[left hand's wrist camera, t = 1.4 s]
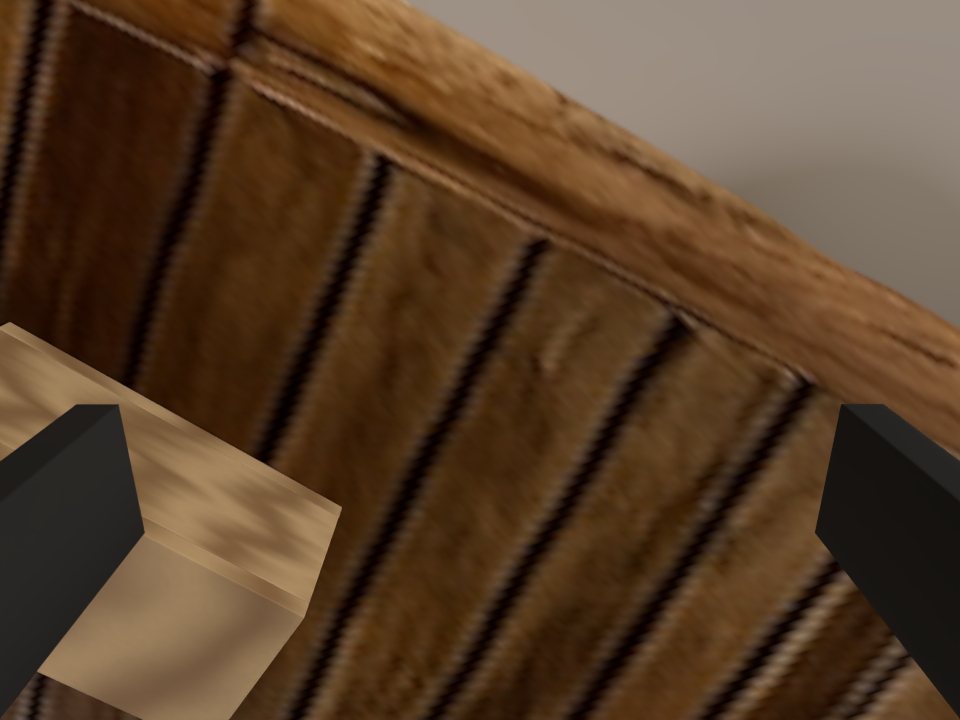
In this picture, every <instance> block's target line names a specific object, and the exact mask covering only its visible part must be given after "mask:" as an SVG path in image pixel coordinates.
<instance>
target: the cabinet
mask: <svg viewBox="0 0 960 720" xmlns="http://www.w3.org/2000/svg"><path fill="white" fill-rule="evenodd" d="M76 404H119V408H120V413H121V418H122V423H123V428H124V432H125V437H126V442H127V447H128V452H129V457H130V462H131V467H132V472H133V476H134V481H135V486H136V491H137V496H138V501H139V506H140V511H141V515H142V520H143V525H144V530H145V533H144V535H143V536H142V537H141V538H140V540H139V541H138V542H137V544H136V545H135V546H134V547H133V549H132V550H131V551H130V553H129V554H128V555H127V556H126V558H125V559H124V560H123V562H122V563H121V564H120V565H119V567H118V568H117V569H116V571H115V572H114V573H113V574H112V576H111V577H110V578H109V580H108V581H107V582H106V583H105V585H104V586H103V587H102V588H101V590H100V591H99V592H98V594H97V595H96V596H95V597H94V599H93V600H92V601H91V603H90V604H89V605H88V606H87V608H86V609H85V610H84V612H83V613H82V614H81V615H80V617H79V618H78V619H77V621H76V622H75V623H74V624H73V626H72V627H71V628H70V630H69V631H68V632H67V633H66V635H65V636H64V637H63V638H62V640H61V641H60V642H59V644H58V645H57V646H56V647H55V649H54V650H53V651H52V653H51V654H50V655H49V656H48V658H47V659H46V660H45V662H44V663H43V664H42V665H41V667H40V668H39V669H38V671H37V672H39V673H41V674H44V675H46V676H48V677H50V678H52V679H55V680H57V681H59V682H61V683H63V684H66V685H68V686H70V687H72V688H74V689H77V690H79V691H81V692H83V693H85V694H87V695H90V696H92V697H94V698H96V699H98V700H101V701H103V702H105V703H107V704H109V705H112V706H114V707H116V708H118V709H120V710H123V711H125V712H127V713H129V714H131V715H134V716H136V717H138V718H140V719H142V720H229V719H230V717H231V716H232V715H233V713H234V712H235V711H236V709H237V708H238V706H239V705H240V704H241V702H242V701H243V700H244V698H245V697H246V696H247V694H248V693H249V692H250V690H251V689H252V688H253V686H254V685H255V683H256V682H257V681H258V679H259V678H260V677H261V675H262V674H263V673H264V671H265V670H266V669H267V667H268V666H269V665H270V663H271V662H272V660H273V659H274V658H275V656H276V655H277V654H278V652H279V651H280V650H281V648H282V647H283V646H284V644H285V643H286V642H287V640H288V639H289V638H290V636H291V635H292V633H293V632H294V631H295V629H296V628H297V627H298V625H299V624H300V623H301V621H302V620H303V619H304V617H305V614H306V611H307V608H308V605H309V602H310V599H311V596H312V593H313V590H314V588H315V585H316V582H317V579H318V576H319V573H320V570H321V567H322V564H323V561H324V558H325V556H326V553H327V550H328V547H329V544H330V541H331V538H332V535H333V532H334V529H335V526H336V523H337V521H338V517H339V515H340V512H341V509H342V507H341V506H339V505H337V504H335V503H333V502H332V501H330V500H328V499H326V498H324V497H323V496H321V495H319V494H317V493H316V492H314V491H312V490H310V489H308V488H307V487H305V486H303V485H301V484H299V483H298V482H296V481H294V480H292V479H290V478H289V477H287V476H285V475H283V474H281V473H280V472H278V471H276V470H274V469H273V468H271V467H269V466H267V465H265V464H264V463H262V462H260V461H258V460H256V459H255V458H253V457H251V456H249V455H247V454H246V453H244V452H242V451H240V450H238V449H237V448H235V447H233V446H231V445H230V444H228V443H226V442H224V441H222V440H221V439H219V438H217V437H215V436H213V435H212V434H210V433H208V432H206V431H204V430H203V429H201V428H199V427H197V426H195V425H194V424H192V423H190V422H188V421H187V420H185V419H183V418H181V417H179V416H178V415H176V414H174V413H172V412H170V411H169V410H167V409H165V408H163V407H161V406H160V405H158V404H156V403H154V402H152V401H151V400H149V399H147V398H145V397H143V396H142V395H140V394H138V393H136V392H135V391H133V390H131V389H129V388H127V387H126V386H124V385H122V384H120V383H118V382H117V381H115V380H113V379H111V378H109V377H108V376H106V375H104V374H102V373H100V372H99V371H97V370H95V369H93V368H92V367H90V366H88V365H86V364H84V363H83V362H81V361H79V360H77V359H75V358H74V357H72V356H70V355H68V354H66V353H65V352H63V351H61V350H59V349H57V348H56V347H54V346H52V345H50V344H49V343H47V342H45V341H43V340H41V339H40V338H38V337H36V336H34V335H32V334H31V333H29V332H27V331H25V330H23V329H22V328H20V327H18V326H16V325H14V324H13V323H11V322H9V323H6V324H4V325H2V326H0V461H1V460H2V459H4V458H5V457H6V456H8V455H9V454H10V453H12V452H13V451H15V450H16V449H17V448H19V447H20V446H21V445H23V444H24V443H25V442H27V441H28V440H29V439H31V438H32V437H33V436H35V435H36V434H37V433H39V432H40V431H41V430H43V429H44V428H45V427H47V426H48V425H49V424H51V423H52V422H53V421H55V420H56V419H57V418H59V417H60V416H61V415H63V414H64V413H65V412H67V411H68V410H69V409H71V408H72V407H73V406H75V405H76Z"/></svg>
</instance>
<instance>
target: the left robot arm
mask: <svg viewBox="0 0 960 720" xmlns="http://www.w3.org/2000/svg"><path fill="white" fill-rule="evenodd" d="M144 533H145V530H144V525H143V520H142V515H141V511H140V506H139V501H138V496H137V491H136V486H135V481H134V476H133V472H132V467H131V462H130V457H129V452H128V447H127V442H126V437H125V432H124V428H123V423H122V418H121V413H120V408H119V404H76V405H75V406H73V407H72V408H71V409H69V410H68V411H67V412H65V413H64V414H63V415H61V416H60V417H59V418H57V419H56V420H55V421H53V422H52V423H51V424H49V425H48V426H47V427H45V428H44V429H43V430H41V431H40V432H39V433H37V434H36V435H35V436H33V437H32V438H31V439H29V440H28V441H27V442H25V443H24V444H23V445H21V446H20V447H19V448H17V449H16V450H15V451H13V452H12V453H10V454H9V455H8V456H6V457H5V458H4V459H2V460H1V461H0V718H1V717H2V715H3V714H4V713H5V712H6V710H7V709H8V708H9V706H10V705H11V704H12V703H13V701H14V700H15V699H16V697H17V696H18V695H19V694H20V692H21V691H22V690H23V688H24V687H25V686H26V685H27V683H28V682H29V681H30V680H31V678H32V677H33V676H34V674H35V673H36V672H37V671H38V669H39V668H40V667H41V665H42V664H43V663H44V662H45V660H46V659H47V658H48V656H49V655H50V654H51V653H52V651H53V650H54V649H55V647H56V646H57V645H58V644H59V642H60V641H61V640H62V638H63V637H64V636H65V635H66V633H67V632H68V631H69V630H70V628H71V627H72V626H73V624H74V623H75V622H76V621H77V619H78V618H79V617H80V615H81V614H82V613H83V612H84V610H85V609H86V608H87V606H88V605H89V604H90V603H91V601H92V600H93V599H94V597H95V596H96V595H97V594H98V592H99V591H100V590H101V588H102V587H103V586H104V585H105V583H106V582H107V581H108V580H109V578H110V577H111V576H112V574H113V573H114V572H115V571H116V569H117V568H118V567H119V565H120V564H121V563H122V562H123V560H124V559H125V558H126V556H127V555H128V554H129V553H130V551H131V550H132V549H133V547H134V546H135V545H136V544H137V542H138V541H139V540H140V538H141V537H142V536H143V535H144ZM815 533H816V535H817V536H818V537H819V538H820V540H821V541H822V542H823V544H824V545H825V546H826V547H827V549H828V550H829V551H830V553H831V554H832V555H833V556H834V558H835V559H836V560H837V562H838V563H839V564H840V565H841V567H842V568H843V569H844V571H845V572H846V573H847V574H848V576H849V577H850V578H851V580H852V581H853V582H854V583H855V585H856V586H857V587H858V588H859V590H860V591H861V592H862V594H863V595H864V596H865V597H866V599H867V600H868V601H869V603H870V604H871V605H872V606H873V608H874V609H875V610H876V612H877V613H878V614H879V615H880V617H881V618H882V619H883V621H884V622H885V623H886V624H887V626H888V627H889V628H890V630H891V631H892V632H893V633H894V635H895V636H896V637H897V638H898V640H899V641H900V642H901V644H902V645H903V646H904V647H905V649H906V650H907V651H908V653H909V654H910V655H911V656H912V658H913V659H914V660H915V662H916V663H917V664H918V665H919V667H920V668H921V669H922V671H923V672H924V673H925V674H926V676H927V677H928V678H929V680H930V681H931V682H932V683H933V685H934V686H935V687H936V688H937V690H938V691H939V692H940V694H941V695H942V696H943V697H944V699H945V700H946V701H947V703H948V704H949V705H950V706H951V708H952V709H953V710H954V712H955V713H956V714H957V715H958V717H959V718H960V461H959V460H958V459H956V458H955V457H954V456H952V455H951V454H950V453H948V452H947V451H945V450H944V449H943V448H941V447H940V446H939V445H937V444H936V443H935V442H933V441H932V440H931V439H929V438H928V437H927V436H925V435H924V434H923V433H921V432H920V431H919V430H917V429H916V428H915V427H913V426H912V425H911V424H909V423H908V422H907V421H905V420H904V419H903V418H901V417H900V416H899V415H897V414H896V413H895V412H893V411H892V410H891V409H889V408H888V407H887V406H885V405H884V404H841V408H840V413H839V418H838V423H837V428H836V432H835V437H834V442H833V447H832V452H831V457H830V462H829V467H828V472H827V476H826V481H825V486H824V491H823V496H822V501H821V506H820V511H819V515H818V520H817V525H816V530H815Z"/></svg>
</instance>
